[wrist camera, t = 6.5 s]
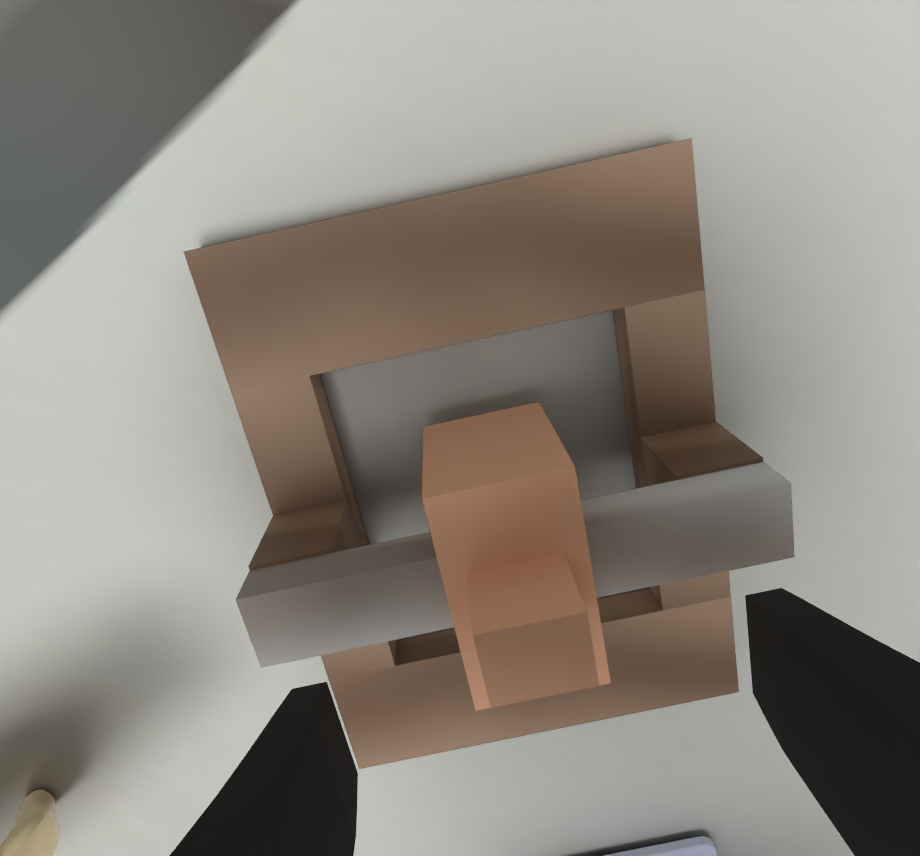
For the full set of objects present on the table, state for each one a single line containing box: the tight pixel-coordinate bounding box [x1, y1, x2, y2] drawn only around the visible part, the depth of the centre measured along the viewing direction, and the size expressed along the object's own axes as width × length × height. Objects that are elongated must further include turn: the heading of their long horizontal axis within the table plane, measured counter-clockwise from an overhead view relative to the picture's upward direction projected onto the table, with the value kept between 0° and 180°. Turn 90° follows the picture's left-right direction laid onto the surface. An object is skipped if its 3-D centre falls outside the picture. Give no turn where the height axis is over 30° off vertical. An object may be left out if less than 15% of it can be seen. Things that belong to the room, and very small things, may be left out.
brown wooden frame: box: [184, 138, 794, 769], centre depth 17 cm, size 16×12×5 cm
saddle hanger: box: [422, 402, 611, 711], centre depth 15 cm, size 5×3×6 cm, turn 12°
